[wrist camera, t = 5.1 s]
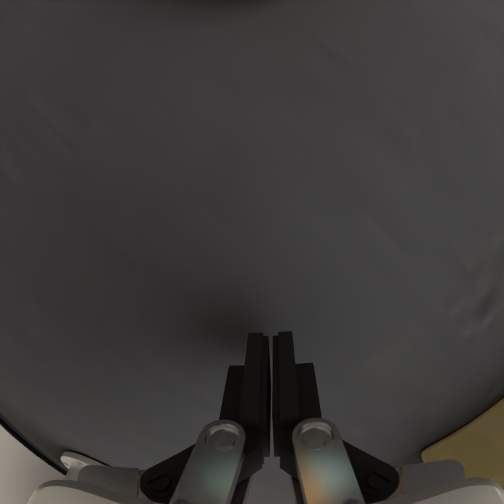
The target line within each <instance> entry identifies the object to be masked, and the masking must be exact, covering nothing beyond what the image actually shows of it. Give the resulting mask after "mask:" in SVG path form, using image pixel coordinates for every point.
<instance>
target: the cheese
mask: <svg viewBox="0 0 504 504" xmlns="http://www.w3.org/2000/svg"><path fill="white" fill-rule="evenodd" d="M447 459H455V460H457V461H459V462H460V463H461V464H462V465H463V467H464V470H465V478H472V477H483V478H490V479H493V480H495V481H496V482H497V483H498V484H499V485H500V486H501V487H502V489H503V490H504V397H503V398H502V399H501V400H500V401H499V402H497V403H496V404H495V405H493V406H492V407H491V408H490V409H488V410H487V411H485V412H484V413H483V414H481V415H480V416H479V417H477V418H476V419H474V420H473V421H471V422H470V423H468V424H467V425H465V426H464V427H462V428H461V429H459V430H457V431H456V432H454V433H452V434H451V435H449V436H447V437H446V438H444V439H442V440H440V441H438V442H437V443H435V444H433V445H431V446H429V447H427V448H426V449H425V450H423V452H422V460H423V463H426V462H434V461H441V460H447Z"/></svg>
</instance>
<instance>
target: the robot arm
mask: <svg viewBox="0 0 504 504" xmlns="http://www.w3.org/2000/svg"><path fill="white" fill-rule="evenodd" d="M272 419H273V441H274V457H280V468H281V469H283V470H284V471H285V472H287V473H288V474H289V475H290V480H291V485H292V490H293V495H294V499H295V504H504V490H503V489H502V487H501V486H500V485H499V484H498V483H497V482H496V481H495V480H493V479H490V478H483V477H472V478H465V470H464V467H463V465H462V464H461V463H460V462H459V461H457V460H455V459H447V460H441V461H434V462H426V463H417V464H405V465H402V466H401V467H392V466H391V465H389V464H387V463H385V462H383V461H381V460H379V459H377V458H375V457H373V456H371V455H369V454H367V453H365V452H363V451H362V450H360V449H358V448H356V447H354V446H352V445H351V444H349V443H347V442H345V441H343V440H342V439H341V436H340V434H339V431H338V429H337V427H336V426H335V425H334V424H333V423H332V422H331V421H329V420H326V419H323V418H321V410H320V404H319V397H318V390H317V384H316V377H315V371H314V365H313V363H303V364H295V357H294V346H293V336H292V331H289V332H278V336H273V392H272ZM270 421H271V374H270V355H269V338H268V336H263V333H249V334H248V342H247V351H246V359H245V366H229V369H228V374H227V380H226V385H225V390H224V396H223V401H222V407H221V412H220V418H219V420H217V421H213V422H211V423H209V424H208V425H206V426H205V427H204V428H203V429H202V431H201V432H200V435H199V437H198V439H197V442H196V444H194V445H192V446H190V447H189V448H187V449H185V450H183V451H182V452H180V453H178V454H176V455H174V456H172V457H170V458H168V459H167V460H165V461H163V462H161V463H159V464H157V465H155V466H153V467H151V468H149V469H147V470H139V469H138V468H125V467H111V466H106V465H103V464H101V463H99V462H97V461H95V460H93V459H90V458H88V457H85V456H83V455H80V454H77V453H74V452H70V451H65V452H63V454H62V456H61V461H62V462H63V464H64V465H65V466H66V467H67V468H68V469H69V470H68V472H67V474H66V476H65V478H64V480H52V481H48V482H45V483H43V484H41V485H40V486H39V487H38V488H37V489H36V490H35V491H34V493H33V494H32V496H31V497H30V499H29V501H28V503H27V504H246V501H247V497H248V494H249V490H250V486H251V483H252V479H253V474H254V473H256V472H257V471H258V470H260V469H261V468H262V464H264V457H269V456H270Z"/></svg>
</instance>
